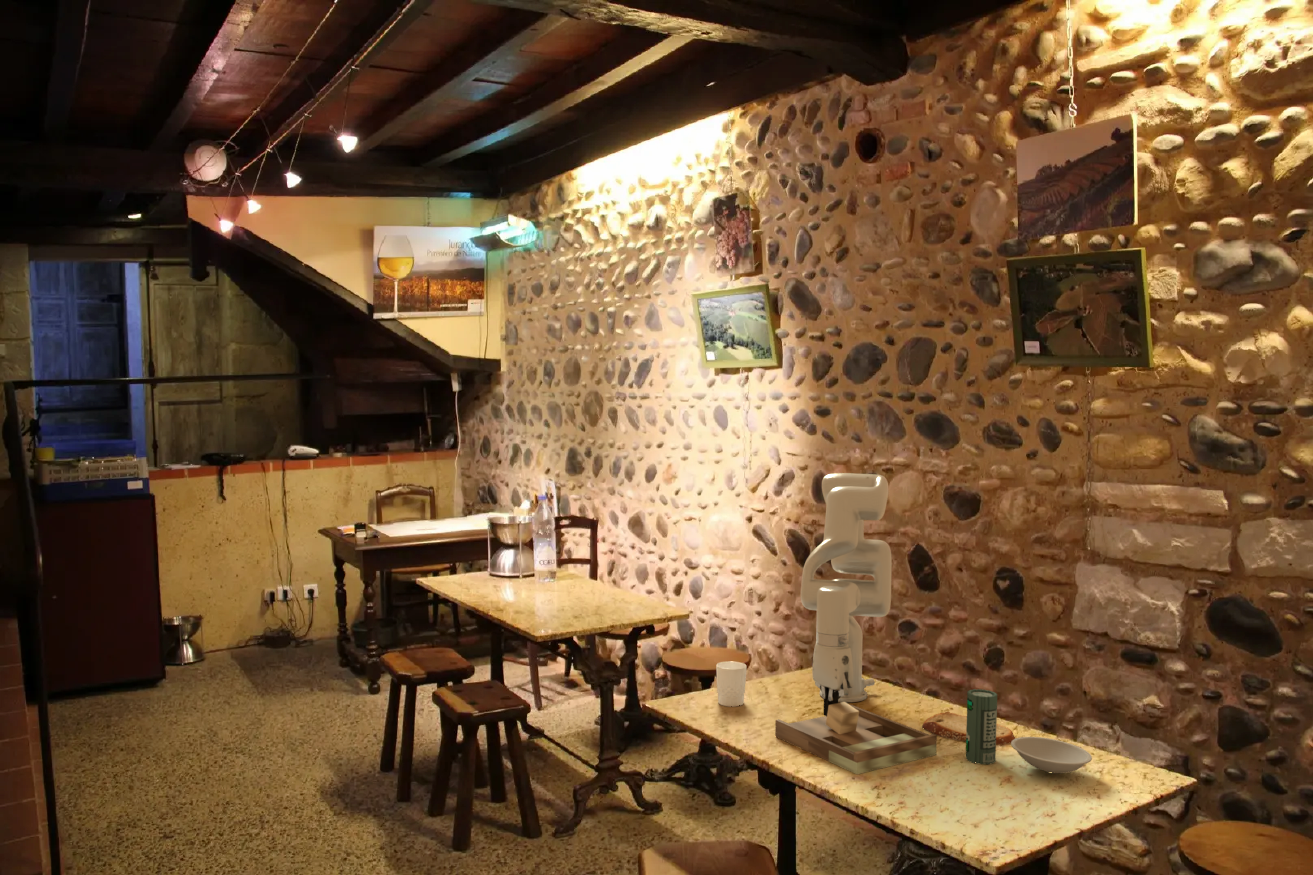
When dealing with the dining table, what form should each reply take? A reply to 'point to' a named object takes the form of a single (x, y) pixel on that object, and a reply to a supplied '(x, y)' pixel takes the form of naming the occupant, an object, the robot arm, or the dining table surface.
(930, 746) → the box
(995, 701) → the can
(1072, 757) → the dish
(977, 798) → the dining table surface
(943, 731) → the bread slice
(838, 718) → the maple block
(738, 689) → the white cup
